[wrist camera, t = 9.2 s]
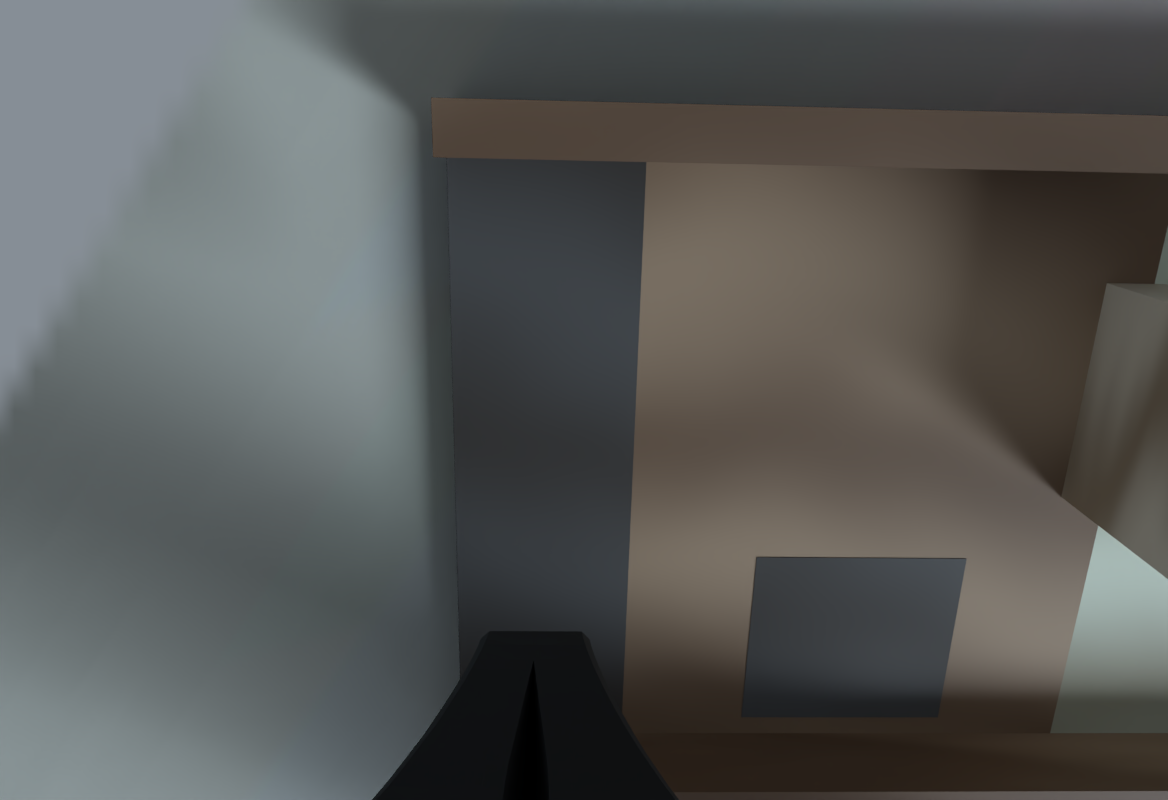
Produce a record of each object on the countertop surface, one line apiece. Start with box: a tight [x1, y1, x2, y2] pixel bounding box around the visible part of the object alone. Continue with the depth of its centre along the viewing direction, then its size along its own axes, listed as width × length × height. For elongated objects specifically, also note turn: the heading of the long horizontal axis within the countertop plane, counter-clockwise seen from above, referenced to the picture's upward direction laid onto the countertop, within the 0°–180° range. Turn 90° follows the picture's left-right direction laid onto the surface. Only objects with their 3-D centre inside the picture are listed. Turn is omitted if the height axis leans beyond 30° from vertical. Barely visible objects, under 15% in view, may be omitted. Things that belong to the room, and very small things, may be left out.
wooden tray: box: [431, 98, 1168, 800], centre depth 19 cm, size 16×23×3 cm
